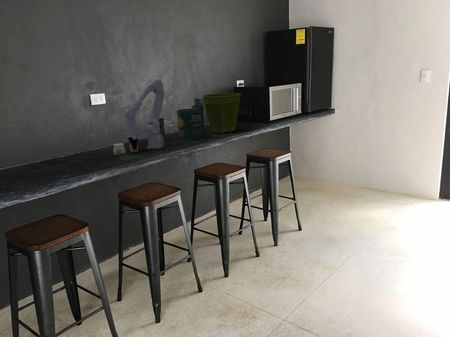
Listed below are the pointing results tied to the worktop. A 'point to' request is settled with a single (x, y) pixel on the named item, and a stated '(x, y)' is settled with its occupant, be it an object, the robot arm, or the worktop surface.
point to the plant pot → (222, 111)
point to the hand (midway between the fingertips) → (134, 148)
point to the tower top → (118, 146)
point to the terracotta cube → (132, 148)
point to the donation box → (191, 122)
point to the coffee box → (162, 127)
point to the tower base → (119, 151)
